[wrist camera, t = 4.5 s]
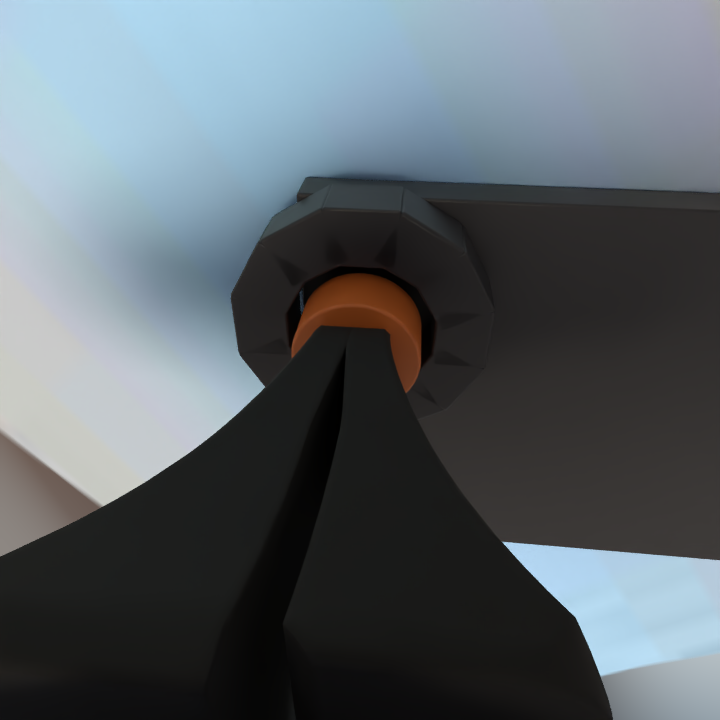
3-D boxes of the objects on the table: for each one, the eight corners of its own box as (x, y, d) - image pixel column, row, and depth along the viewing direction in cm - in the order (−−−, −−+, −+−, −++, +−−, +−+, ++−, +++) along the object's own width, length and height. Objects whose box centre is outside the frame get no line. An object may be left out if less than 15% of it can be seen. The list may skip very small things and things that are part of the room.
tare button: (426, 275, 11) (426, 308, 10) (417, 376, 13) (416, 415, 12) (299, 268, 12) (286, 301, 10) (305, 369, 13) (294, 407, 12)
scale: (930, 188, 11) (1038, 238, 9) (719, 532, 18) (755, 605, 16) (249, 162, 12) (215, 203, 10) (285, 496, 19) (268, 560, 17)
